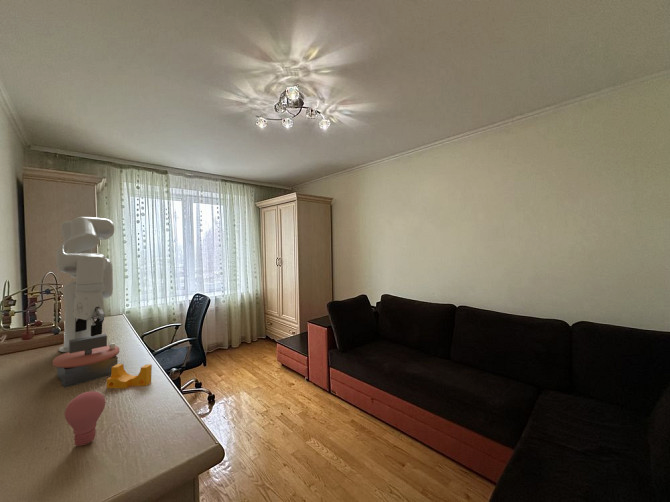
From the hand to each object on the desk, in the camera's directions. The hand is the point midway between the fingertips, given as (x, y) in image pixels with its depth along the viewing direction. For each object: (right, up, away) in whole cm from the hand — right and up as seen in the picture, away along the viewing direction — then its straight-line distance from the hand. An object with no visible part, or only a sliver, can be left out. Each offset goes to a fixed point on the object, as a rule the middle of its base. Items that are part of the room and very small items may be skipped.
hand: (88, 332), depth 98 cm
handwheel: (0, -9, -1) cm, 9 cm away
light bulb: (+32, -16, -35) cm, 50 cm away
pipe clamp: (+22, -16, -8) cm, 28 cm away
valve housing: (0, -15, -1) cm, 15 cm away
